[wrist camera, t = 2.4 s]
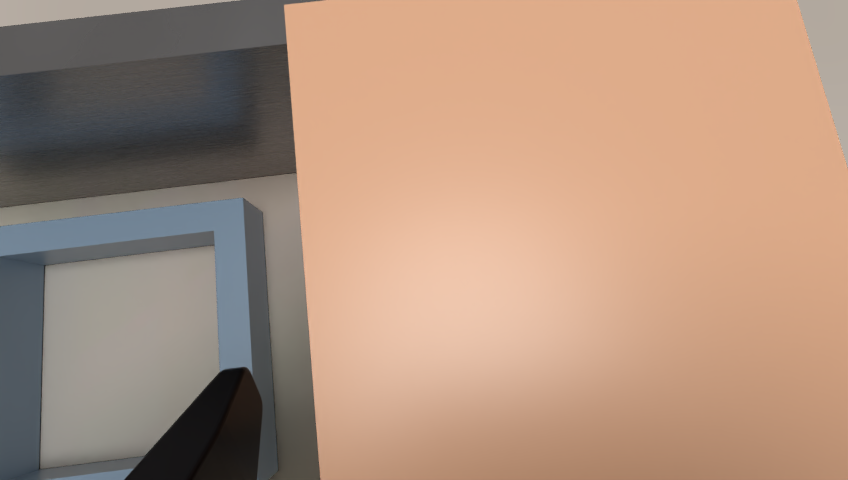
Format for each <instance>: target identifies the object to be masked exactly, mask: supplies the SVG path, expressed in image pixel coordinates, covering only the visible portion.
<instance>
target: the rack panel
mask: <svg viewBox="0 0 848 480" xmlns="http://www.w3.org/2000/svg"><path fill="white" fill-rule="evenodd" d="M314 1H323V0H240V1H231V2H222V3H213V4H204V5H194V6H185V7H176V8H168V9H158V10H150V11H140V12H131V13H122V14H113V15H104V16H94V17H85V18H76V19H68V20H60V21H59V20H58V21H49V22H40V23H31V24H22V25H13V26H4V27H0V207H7V206H15V205H24V204H32V203H41V202H49V201H58V200H66V199H75V198H83V197H92V196H100V195H109V194H117V193H126V192H134V191H143V190H151V189H160V188H168V187H177V186H185V185H194V184H202V183H211V182H219V181H228V180H236V179H245V178H253V177H262V176H270V175H279V174H287V173H296V172H297V168H296V155H295V142H294V129H293V116H292V103H291V90H290V77H289V64H288V51H287V38H286V25H285V12H284V5H287V4H296V3H305V2H314Z"/></svg>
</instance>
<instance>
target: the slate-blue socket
mask: <svg viewBox="0 0 848 480" xmlns="http://www.w3.org/2000/svg"><path fill="white" fill-rule="evenodd" d="M209 245H215V267H216V291H217V315H218V339H219V363H220V372H221V371H222V370H224V369H229V368H237V367H247V368H248V369H249V370H250V372H251V374H252V376H253V379H254V381H255V383H256V386H257V388H258V390H259V393H260V395H261V398H262V403H263V415H262V427H261V439H260V451H259V463H258V474H257V480H268V479H269V478H270V477H272V476H273V475H274V474H275V473H276V472H277V471H278V459H277V443H276V426H275V410H274V394H273V377H272V361H271V345H270V329H269V312H268V296H267V280H266V264H265V247H264V231H263V215H262V212H261V211H260V210H258V209H257V208H256V207H254V206H253V205H252V204H250V203H249V202H248V201H247V200H245V199H244V198H236V199H228V200H219V201H211V202H203V203H194V204H186V205H177V206H169V207H160V208H152V209H143V210H135V211H126V212H118V213H110V214H101V215H93V216H84V217H76V218H67V219H59V220H50V221H42V222H33V223H25V224H17V225H8V226H0V480H124V479H125V478H126V477H127V476H128V474H129V473H130V472H131V471H132V470H133V469H134V468H135V467H136V465H137V464H138V463H139V462H140V461H141V460H142V459H143V458H144V456H142V457H135V458H127V459H119V460H111V461H103V462H96V463H88V464H80V465H72V466H65V467H57V468H49V469H41V470H39V449H40V410H41V371H42V332H43V294H44V265H51V264H59V263H67V262H76V261H84V260H92V259H101V258H109V257H117V256H126V255H134V254H142V253H151V252H159V251H167V250H176V249H184V248H192V247H201V246H209Z"/></svg>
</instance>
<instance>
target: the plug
mask: <svg viewBox="0 0 848 480" xmlns="http://www.w3.org/2000/svg"><path fill="white" fill-rule="evenodd" d="M284 12H285V25H286V38H287V51H288V64H289V77H290V90H291V103H292V116H293V129H294V142H295V155H296V168H297V182H298V195H299V208H300V221H301V234H302V247H303V260H304V273H305V286H306V299H307V312H308V325H309V338H310V351H311V364H312V377H313V391H314V404H315V417H316V430H317V443H318V456H319V469H320V480H848V168H847V164H846V161H845V158H844V154H843V151H842V148H841V144H840V141H839V138H838V134H837V131H836V128H835V125H834V121H833V118H832V115H831V111H830V108H829V105H828V101H827V98H826V95H825V92H824V88H823V85H822V82H821V79H820V75H819V72H818V68H817V65H816V62H815V58H814V55H813V52H812V49H811V45H810V42H809V39H808V35H807V32H806V29H805V26H804V22H803V19H802V15H801V12H800V9H799V6H798V2H797V0H323V1H314V2H305V3H296V4H287V5H284Z"/></svg>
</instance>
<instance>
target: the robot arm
mask: <svg viewBox="0 0 848 480" xmlns="http://www.w3.org/2000/svg"><path fill="white" fill-rule="evenodd" d="M262 415H263V403H262V398H261V395H260V393H259V390H258V388H257V386H256V383H255V381H254V379H253V376H252V374H251V372H250V370H249V369H248V368H247V367H237V368H229V369H224V370H222V371H221V372H219V373H218V374H217V376H216V377H215V378H214V379H213V380H212V381H211V382H210V383H209V385H208V386H207V387H206V388H205V389H204V390H203V391H202V392H201V394H200V395H199V396H198V397H197V398H196V399H195V400H194V401H193V403H192V404H191V405H190V406H189V407H188V408H187V409H186V410H185V412H184V413H183V414H182V415H181V416H180V417H179V418H178V419H177V421H176V422H175V423H174V424H173V425H172V426H171V427H170V428H169V430H168V431H167V432H166V433H165V434H164V435H163V436H162V437H161V439H160V440H159V441H158V442H157V443H156V444H155V445H154V446H153V447H152V449H151V450H150V451H149V452H148V453H147V454H146V455H145V456H144V458H143V459H142V460H141V461H140V462H139V463H138V464H137V465H136V467H135V468H134V469H133V470H132V471H131V472H130V473H129V474H128V476H127V477H126V478H125V479H124V480H257V474H258V463H259V451H260V439H261V427H262Z"/></svg>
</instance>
